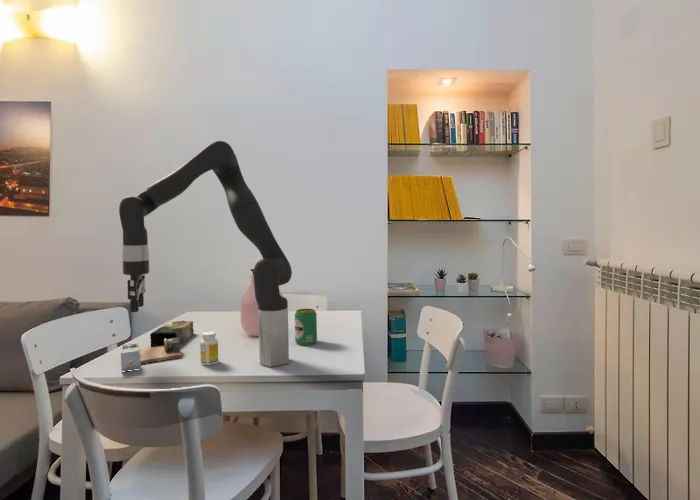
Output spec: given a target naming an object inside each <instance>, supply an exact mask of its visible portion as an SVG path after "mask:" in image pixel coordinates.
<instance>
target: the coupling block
mask: <svg viewBox="0 0 700 500" xmlns="http://www.w3.org/2000/svg"><path fill="white" fill-rule="evenodd" d="M139 349H140V346H138V347H134V348H127V349H123V348H121V349H120V363H121V368H120V369H121V372H122V371H128V370H134V369H139V368H140V369H141V364H140V350H139Z"/></svg>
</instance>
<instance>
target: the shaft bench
mask: <svg viewBox="0 0 700 500" xmlns="http://www.w3.org/2000/svg"><path fill="white" fill-rule="evenodd" d="M180 346H181V344H180V342H179V338H174V337H171V338H168V339H167V337H166V338H165V339H164V340H163V345H158V346H153V347H151V346H150V347H144V348H139V350H140V363H146V364H148V363H147V362H153V363H155V362H154V361H159V362H161V361H160V360H165V361H168V360H167V359H171V360H174V359H173V358H177V359H182V358H183V353H182V351H181V350H180ZM134 347H139V341H136V342H135V343H133V344H131V343H130V344H129V343H128V344H123V345H122V349H127V348H134ZM181 357H182V358H181Z"/></svg>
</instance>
